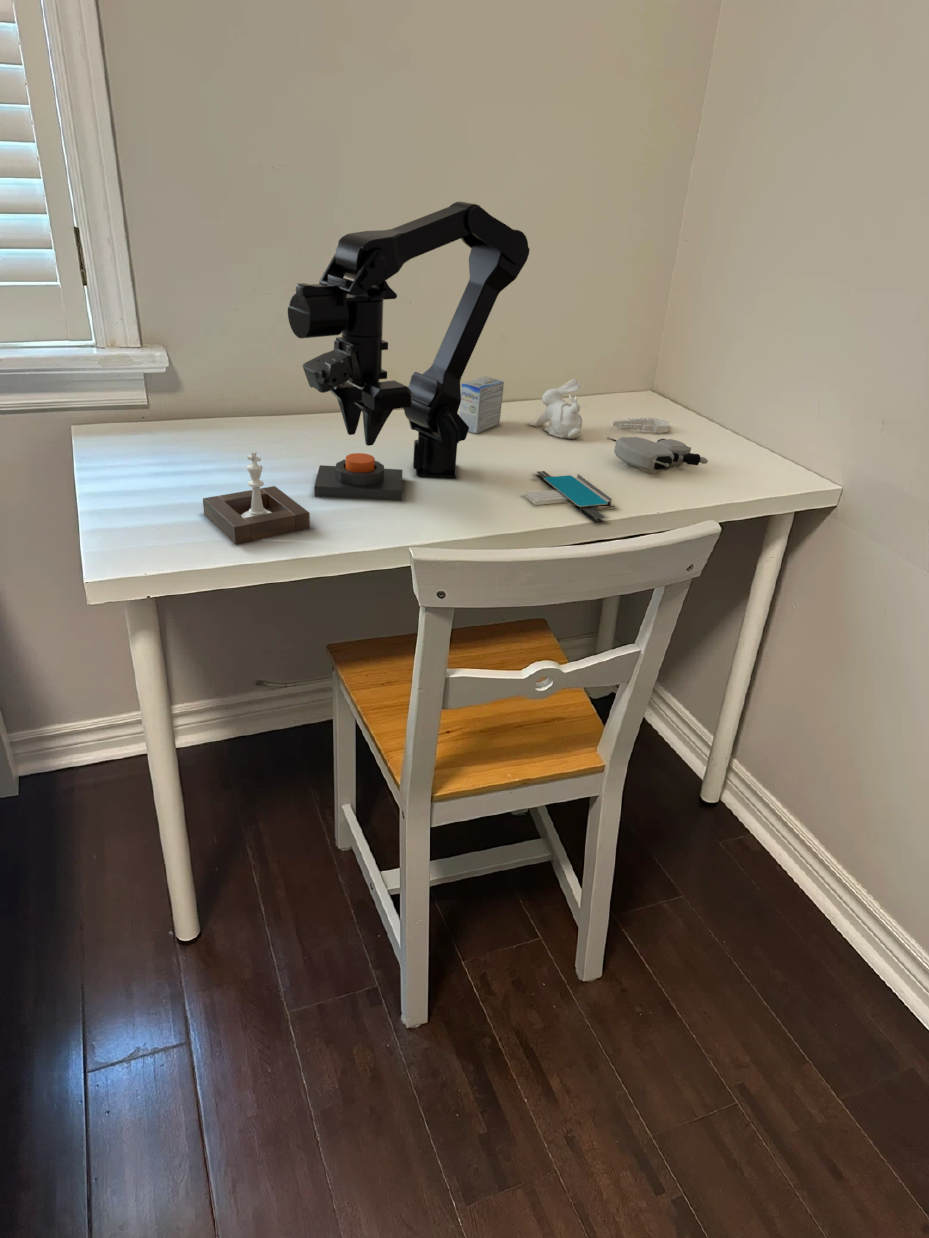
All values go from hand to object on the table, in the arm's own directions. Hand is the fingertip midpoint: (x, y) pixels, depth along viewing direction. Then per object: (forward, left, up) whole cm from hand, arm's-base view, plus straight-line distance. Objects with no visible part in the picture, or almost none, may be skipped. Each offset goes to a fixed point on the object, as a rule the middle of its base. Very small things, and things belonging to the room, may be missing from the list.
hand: (360, 439), depth 129 cm
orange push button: (0, 0, -5) cm, 5 cm away
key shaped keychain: (-54, -38, -8) cm, 67 cm away
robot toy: (-51, -17, -8) cm, 54 cm away
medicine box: (-21, -34, -8) cm, 41 cm away
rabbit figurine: (-37, -34, -8) cm, 51 cm away
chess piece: (+13, +14, -8) cm, 21 cm away
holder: (+13, +15, -8) cm, 21 cm away
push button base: (0, 0, -8) cm, 8 cm away
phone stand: (-32, 0, -8) cm, 33 cm away
